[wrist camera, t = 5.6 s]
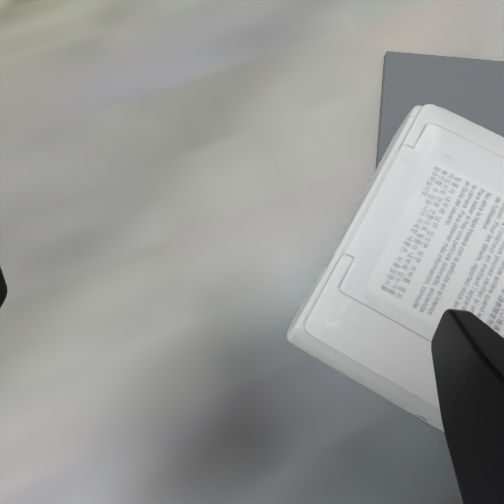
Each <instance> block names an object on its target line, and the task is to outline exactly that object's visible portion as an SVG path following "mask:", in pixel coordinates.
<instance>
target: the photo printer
mask: <svg viewBox="0 0 504 504" xmlns="http://www.w3.org/2000/svg"><path fill="white" fill-rule="evenodd" d="M447 309H459V310H467V311H470V312H472V313H473V314H474V315H476V316H477V317H478V318H479V319H481V320H482V321H483V322H484V323H486V324H487V325H488V326H489V327H491V328H492V329H493V330H494V331H496V332H497V333H498V334H499V335H501V336H502V337H503V338H504V137H502V136H500V135H498V134H496V133H494V132H492V131H490V130H487V129H485V128H484V127H482V126H480V125H478V124H475V123H473V122H471V121H469V120H467V119H465V118H464V117H461V116H459V115H457V114H455V113H453V112H450V111H448V110H446V109H444V108H441V107H438V106H435V105H433V104H427V105H424V106H420V105H418V106H415V107H414V108H413V109H412V110H411V111H410V113H409V114H408V115H407V117H406V118H405V120H404V121H403V123H402V124H401V126H400V127H399V129H398V131H397V132H396V134H395V135H394V137H393V139H392V141H391V143H390V145H389V146H388V148H387V150H386V152H385V154H384V156H383V158H382V159H381V161H380V163H379V165H378V167H377V169H376V171H375V173H374V174H373V176H372V178H371V180H370V182H369V184H368V185H367V187H366V189H365V191H364V193H363V195H362V197H361V198H360V200H359V202H358V204H357V206H356V208H355V209H354V211H353V213H352V215H351V217H350V219H349V220H348V222H347V224H346V226H345V228H344V230H343V231H342V233H341V235H340V237H339V239H338V241H337V242H336V244H335V246H334V248H333V250H332V252H331V253H330V255H329V257H328V259H327V261H326V263H325V264H324V266H323V268H322V270H321V272H320V274H319V276H318V277H317V279H316V281H315V283H314V284H313V286H312V288H311V289H310V291H309V293H308V295H307V296H306V298H305V300H304V302H303V303H302V305H301V307H300V308H299V310H298V312H297V314H296V315H295V317H294V319H293V320H292V322H291V324H290V326H289V329H288V332H287V339H288V341H289V342H290V343H291V344H293V345H294V346H296V347H298V348H300V349H301V350H303V351H305V352H306V353H308V354H310V355H312V356H313V357H315V358H317V359H318V360H320V361H322V362H324V363H325V364H327V365H329V366H330V367H332V368H334V369H336V370H337V371H339V372H341V373H342V374H344V375H346V376H348V377H349V378H351V379H353V380H354V381H356V382H358V383H360V384H361V385H363V386H365V387H366V388H368V389H370V390H372V391H373V392H375V393H377V394H378V395H380V396H382V397H384V398H385V399H387V400H389V401H391V402H392V403H394V404H396V405H397V406H399V407H401V408H402V409H404V410H406V411H407V412H409V413H411V414H413V415H415V416H417V417H418V418H420V419H421V420H423V421H425V422H426V423H428V424H430V425H432V426H433V427H435V428H437V429H438V430H440V431H442V432H444V428H443V424H442V419H441V413H440V407H439V400H438V394H437V387H436V380H435V373H434V366H433V360H432V353H431V342H432V338H433V336H434V333H435V331H436V329H437V326H438V324H439V322H440V319H441V317H442V315H443V313H444V312H445V311H446V310H447Z"/></svg>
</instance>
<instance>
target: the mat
mask: <svg viewBox="0 0 504 504" xmlns="http://www.w3.org/2000/svg"><path fill="white" fill-rule="evenodd" d="M427 104H433V105H435V106H438V107H441V108H444V109H446V110H448V111H450V112H453V113H455V114H457V115H459V116H461V117H464V118H465V119H467V120H469V121H471V122H473V123H475V124H478V125H480V126H482V127H484V128H485V129H487V130H490V131H492V132H494V133H496V134H498V135H500V136H502V137H504V62H503V61H492V60H480V59H469V58H458V57H446V56H435V55H423V54H412V53H400V52H389V51H387V52H386V54H385V56H384V67H383V80H382V93H381V106H380V119H379V132H378V146H377V159H376V169H377V167H378V165H379V163H380V161H381V159H382V158H383V156H384V154H385V152H386V150H387V148H388V146H389V145H390V143H391V141H392V139H393V137H394V135H395V134H396V132H397V131H398V129H399V127H400V126H401V124H402V123H403V121H404V120H405V118H406V117H407V115H408V114H409V113H410V111H411V110H412V109H413V108H414V107H415V106H418V105H420V106H424V105H427Z"/></svg>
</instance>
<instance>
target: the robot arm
mask: <svg viewBox="0 0 504 504" xmlns="http://www.w3.org/2000/svg"><path fill="white" fill-rule="evenodd" d="M6 295H7V285H6V282H5V279H4V276H3V273H2V270H1V267H0V308H1V306H2V304H3V302H4V300H5V298H6ZM431 353H432V360H433V366H434V373H435V380H436V387H437V394H438V400H439V407H440V413H441V419H442V424H443V428H444V433H445V437H446V440H447V444H448V448H449V452H450V455H451V459H452V463H453V466H454V470H455V474H456V478H457V481H458V485H459V489H460V492H461V496H462V500H463V504H504V338H503V337H502V336H501V335H499V334H498V333H497V332H496V331H494V330H493V329H492V328H491V327H489V326H488V325H487V324H486V323H484V322H483V321H482V320H481V319H479V318H478V317H477V316H476V315H474V314H473V313H472V312H470V311H467V310H459V309H447V310H446V311H445V312H444V313H443V315H442V317H441V319H440V322H439V324H438V326H437V329H436V331H435V333H434V336H433V338H432V342H431Z"/></svg>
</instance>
